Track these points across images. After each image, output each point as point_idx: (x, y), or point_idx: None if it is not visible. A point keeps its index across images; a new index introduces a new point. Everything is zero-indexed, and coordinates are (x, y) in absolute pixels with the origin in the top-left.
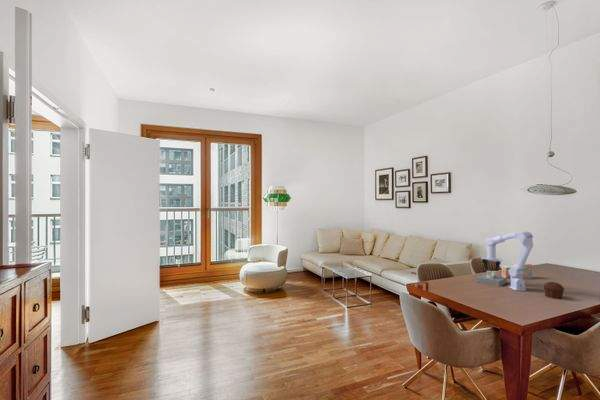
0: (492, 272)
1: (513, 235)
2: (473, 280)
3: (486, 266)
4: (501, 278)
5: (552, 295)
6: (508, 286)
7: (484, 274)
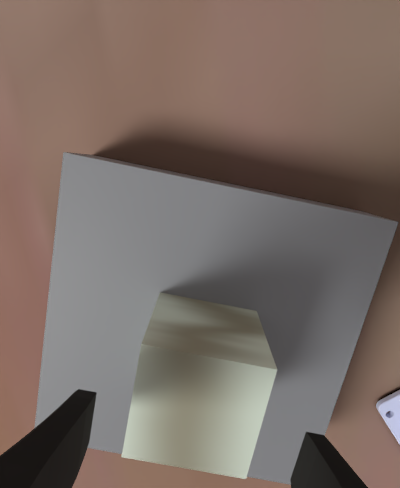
0: (224, 471)
1: None
2: (10, 337)
3: (63, 484)
4: (328, 312)
5: None
6: (382, 414)
7: (67, 188)
